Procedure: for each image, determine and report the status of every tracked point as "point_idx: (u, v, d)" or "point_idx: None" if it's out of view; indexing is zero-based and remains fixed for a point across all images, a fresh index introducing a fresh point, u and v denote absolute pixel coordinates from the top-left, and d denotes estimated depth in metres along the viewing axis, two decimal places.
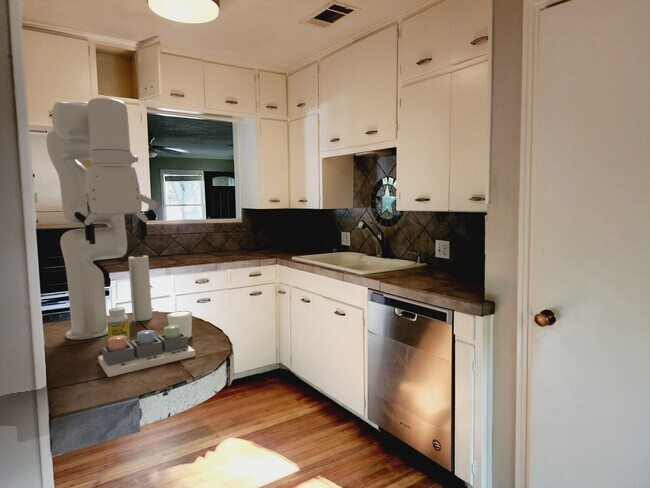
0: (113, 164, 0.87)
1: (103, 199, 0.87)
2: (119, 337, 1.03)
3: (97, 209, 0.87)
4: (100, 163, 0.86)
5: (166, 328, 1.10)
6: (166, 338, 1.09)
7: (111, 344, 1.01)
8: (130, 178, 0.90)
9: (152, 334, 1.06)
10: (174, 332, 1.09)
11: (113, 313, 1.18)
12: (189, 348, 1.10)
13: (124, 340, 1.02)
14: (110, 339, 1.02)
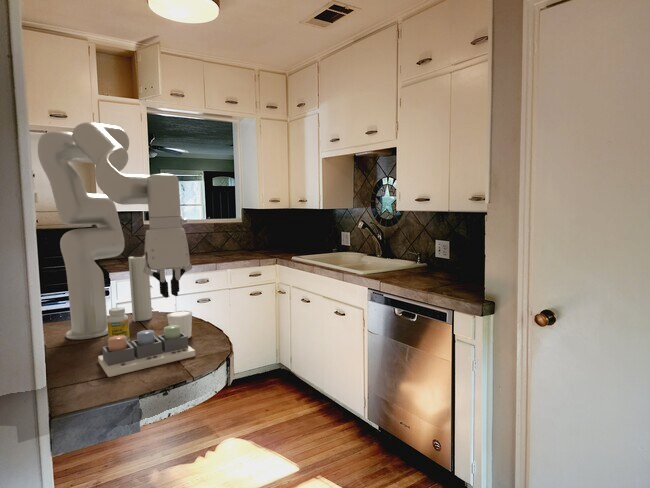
0: (169, 229, 1.05)
1: (160, 257, 1.05)
2: (119, 337, 1.03)
3: (155, 266, 1.05)
4: (158, 228, 1.04)
5: (166, 328, 1.10)
6: (166, 338, 1.09)
7: (111, 344, 1.01)
8: (181, 238, 1.08)
9: (152, 334, 1.06)
10: (174, 332, 1.09)
11: (113, 313, 1.18)
12: (189, 348, 1.10)
13: (124, 340, 1.02)
14: (110, 339, 1.02)
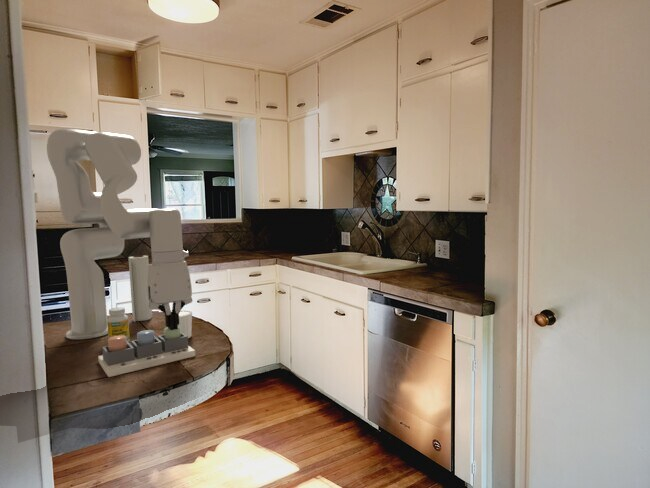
0: (171, 263, 1.06)
1: (162, 291, 1.06)
2: (119, 337, 1.03)
3: (158, 300, 1.06)
4: (161, 263, 1.05)
5: (166, 329, 1.10)
6: (166, 339, 1.09)
7: (111, 344, 1.01)
8: (183, 271, 1.09)
9: (152, 334, 1.06)
10: (174, 333, 1.09)
11: (113, 313, 1.18)
12: (189, 348, 1.10)
13: (124, 340, 1.02)
14: (110, 339, 1.02)
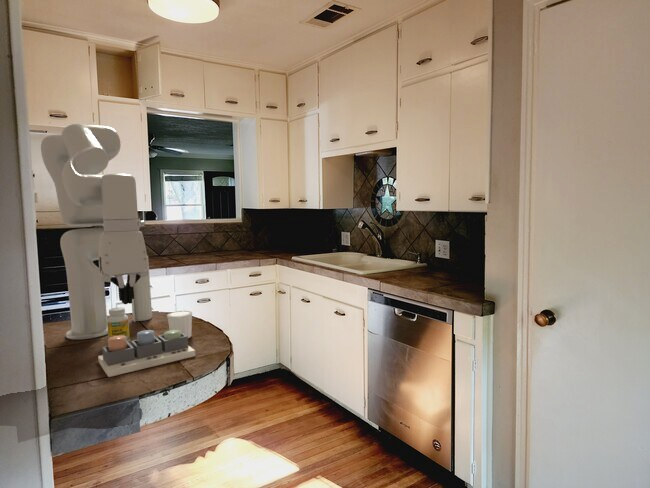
0: (124, 232, 0.99)
1: (115, 262, 0.99)
2: (119, 337, 1.03)
3: (109, 271, 0.99)
4: (113, 232, 0.98)
5: (166, 333, 1.10)
6: None
7: (111, 344, 1.01)
8: (138, 242, 1.02)
9: (152, 334, 1.06)
10: (174, 337, 1.09)
11: (113, 313, 1.18)
12: (189, 348, 1.10)
13: (124, 340, 1.02)
14: (110, 339, 1.02)
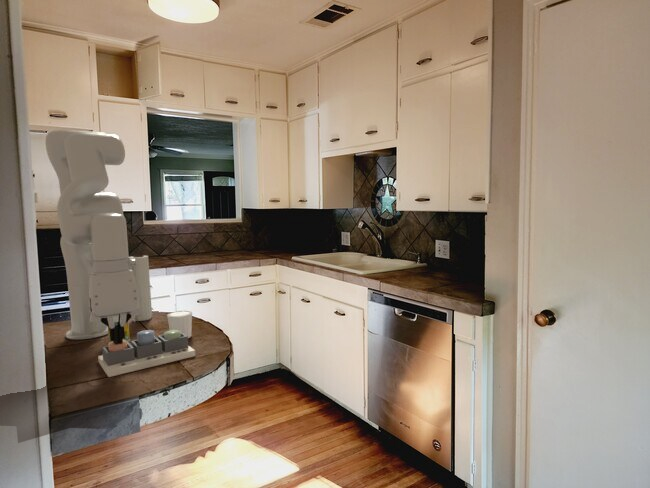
0: (113, 273, 0.98)
1: (104, 303, 0.98)
2: None
3: (99, 313, 0.98)
4: (102, 273, 0.97)
5: (166, 333, 1.10)
6: None
7: (112, 349, 1.01)
8: (129, 281, 1.01)
9: (152, 334, 1.06)
10: (174, 337, 1.09)
11: None
12: (189, 348, 1.10)
13: (124, 344, 1.03)
14: (110, 343, 1.02)
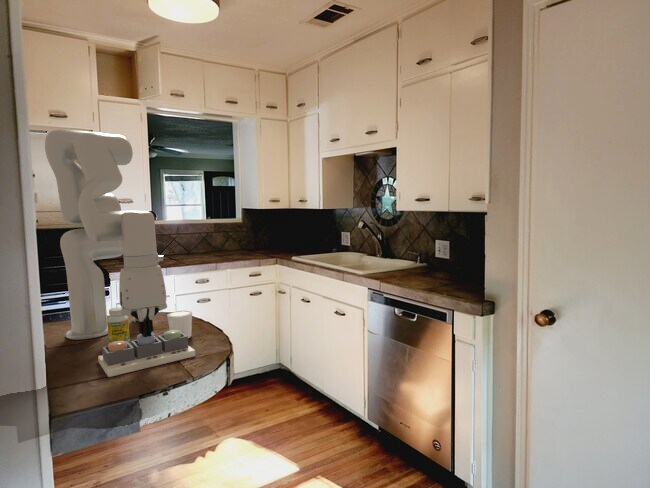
0: (143, 268, 1.02)
1: (135, 297, 1.02)
2: (119, 342, 1.03)
3: (130, 306, 1.02)
4: (133, 268, 1.01)
5: (166, 333, 1.10)
6: None
7: (112, 350, 1.01)
8: (157, 276, 1.05)
9: (152, 337, 1.06)
10: (174, 337, 1.09)
11: (113, 313, 1.18)
12: (189, 348, 1.10)
13: (124, 345, 1.03)
14: (110, 344, 1.02)
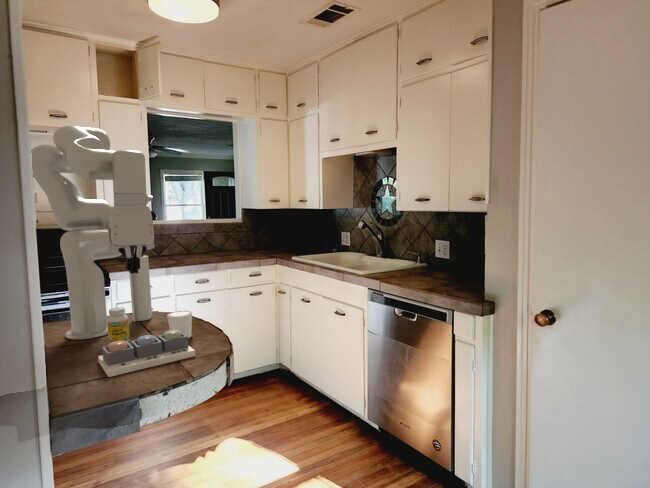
0: (132, 206, 1.05)
1: (123, 234, 1.06)
2: (119, 342, 1.03)
3: (118, 242, 1.05)
4: (122, 205, 1.04)
5: (166, 333, 1.10)
6: None
7: (112, 350, 1.01)
8: (146, 215, 1.08)
9: (152, 339, 1.06)
10: (174, 337, 1.09)
11: (113, 313, 1.18)
12: (189, 348, 1.10)
13: (124, 345, 1.03)
14: (110, 344, 1.02)
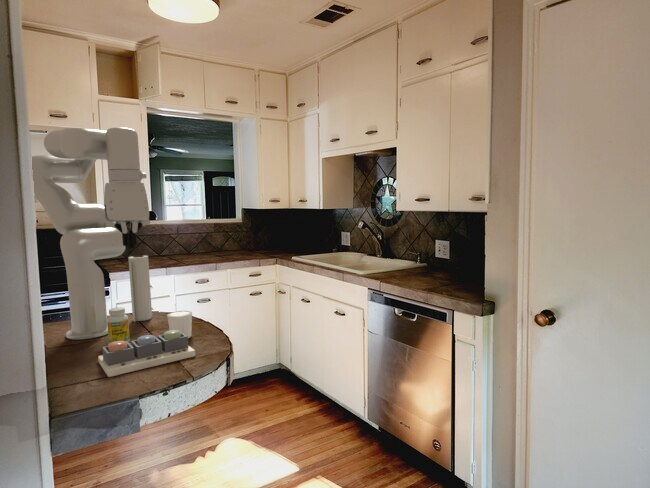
0: (127, 181, 1.08)
1: (118, 209, 1.08)
2: (119, 342, 1.03)
3: (113, 217, 1.08)
4: (116, 180, 1.07)
5: (166, 333, 1.10)
6: None
7: (112, 350, 1.01)
8: (140, 191, 1.11)
9: (152, 339, 1.06)
10: (174, 337, 1.09)
11: (113, 313, 1.18)
12: (189, 348, 1.10)
13: (124, 345, 1.03)
14: (110, 344, 1.02)
